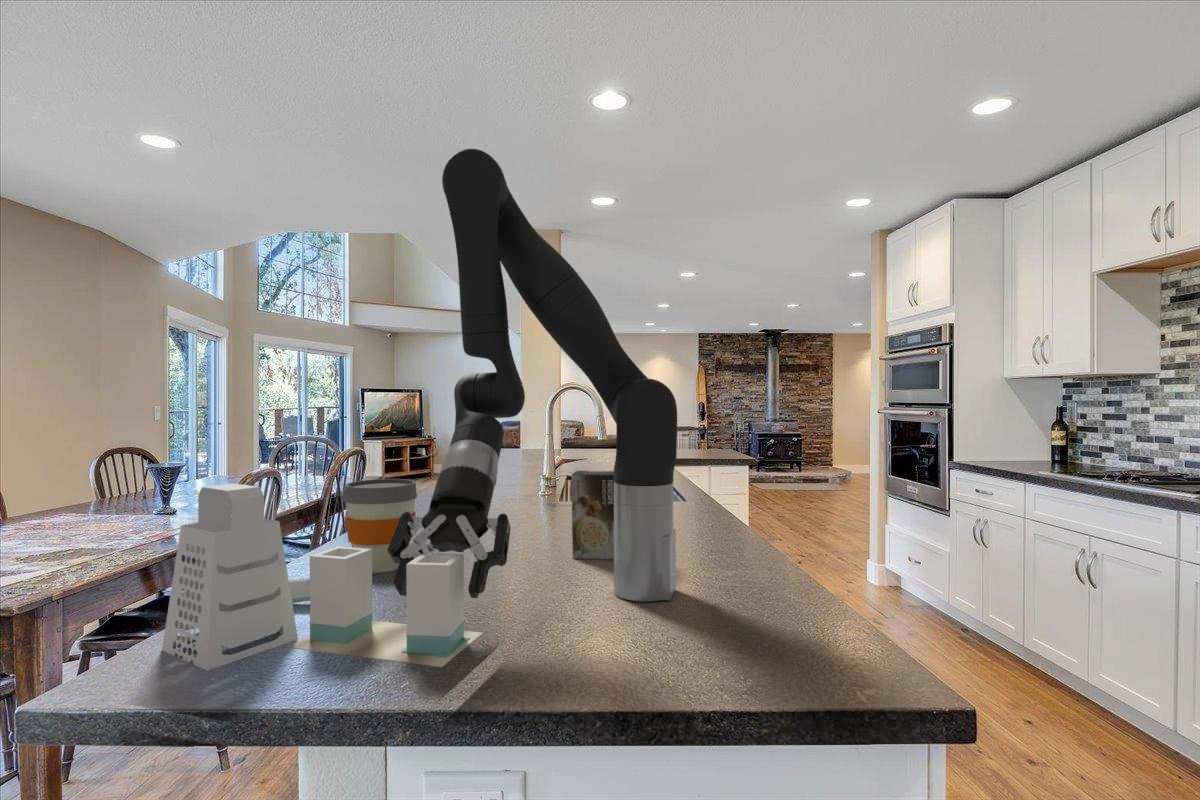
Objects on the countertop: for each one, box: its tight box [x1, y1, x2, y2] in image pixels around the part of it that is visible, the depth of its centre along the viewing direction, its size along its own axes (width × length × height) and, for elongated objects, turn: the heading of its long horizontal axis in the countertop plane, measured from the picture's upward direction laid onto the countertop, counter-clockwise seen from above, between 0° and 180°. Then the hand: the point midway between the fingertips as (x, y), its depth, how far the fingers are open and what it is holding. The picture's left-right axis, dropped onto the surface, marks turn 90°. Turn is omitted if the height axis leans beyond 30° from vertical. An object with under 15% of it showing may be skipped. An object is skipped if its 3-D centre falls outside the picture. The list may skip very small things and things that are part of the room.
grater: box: [161, 483, 299, 672], centre depth 73 cm, size 10×10×20 cm
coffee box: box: [571, 470, 614, 560], centre depth 119 cm, size 9×6×16 cm
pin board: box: [287, 620, 484, 668], centre depth 74 cm, size 20×10×6 cm, turn 75°
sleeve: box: [406, 552, 465, 654], centre depth 72 cm, size 5×5×10 cm
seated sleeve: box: [309, 546, 373, 644], centre depth 76 cm, size 5×5×10 cm
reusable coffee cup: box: [343, 478, 418, 574], centre depth 112 cm, size 13×13×15 cm
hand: (437, 593), depth 72 cm, fingers open, 8 cm apart
